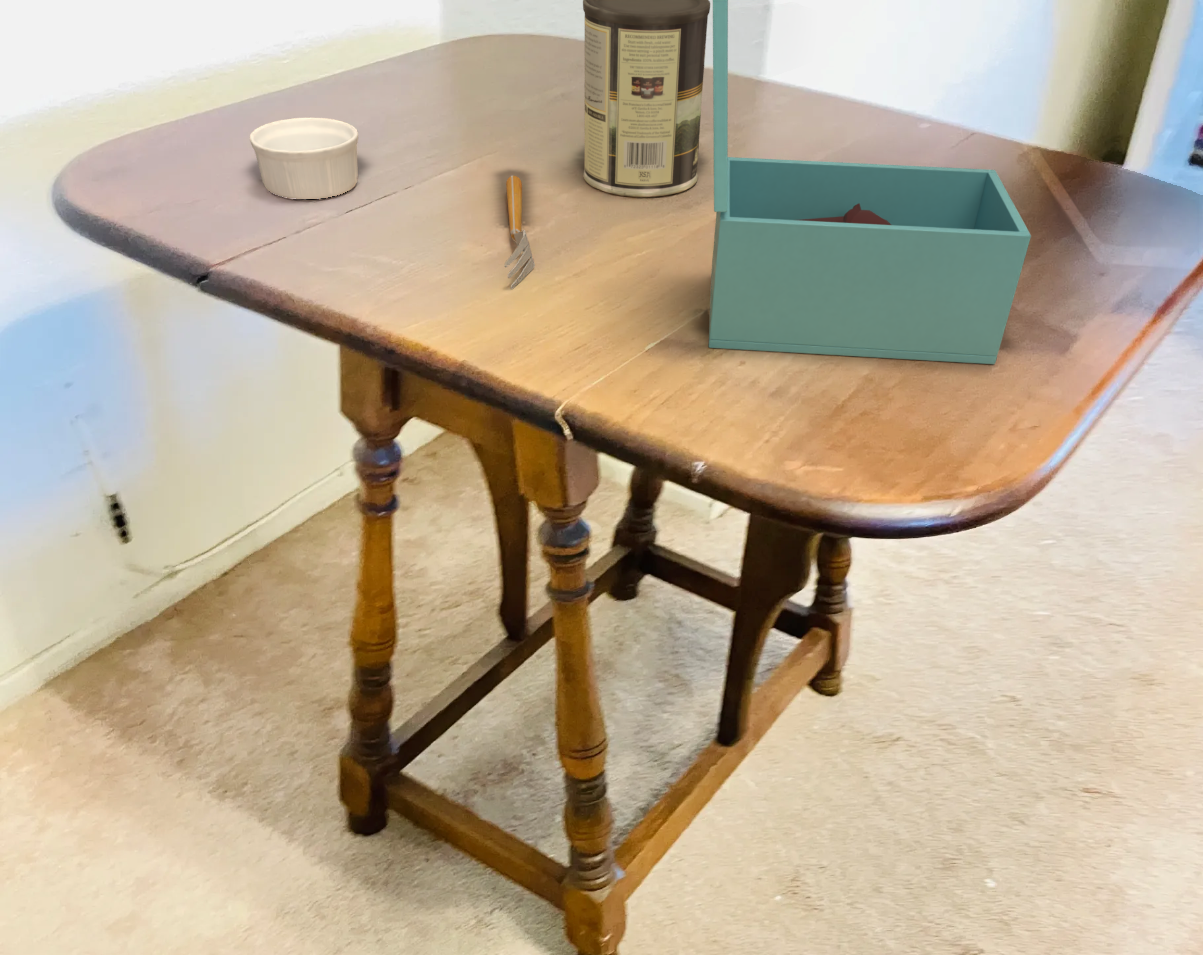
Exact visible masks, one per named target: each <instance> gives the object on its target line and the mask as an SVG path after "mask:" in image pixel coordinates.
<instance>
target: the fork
mask: <svg viewBox="0 0 1203 955" xmlns="http://www.w3.org/2000/svg"><path fill="white" fill-rule="evenodd" d="M505 185H506V186H505V189H506V196H507V197H506V200H507V210H508V221H509V232H510V238H511V240H513V241H514V242H515V244H516V248H515V250H514V251H513V253H512V254H511V255H510V256H509V257H508V259H507V260H506V261H505V262H504V265H503V267H504V268H508V267H509V266H510V265H511V264H512V263H513V262H515V260H517V258H519V256H520V255H521V256H520V258H519V259H518V260H517V262H516V264H515V265H514V266H513V268H511V270H510V271H509V272H508V273H507V278H508V279H511V278H512V277H513V276H514V275H515V274H517V272H518V271H520V269H522V267H523V266H524V267H523V269H522V270H521V272H520V274H519V275H518V277H517V278H515V280H514V281H513V283H511V284H510V289H511V290H513V289H514V288H516V286H518V285H519V284H520V283H521V282H522V281H523V280H524V279H525V278H526V277H527V276H528V275H529V273H531V272H532V271H533V269H534V268H535V265H536V264H535V261H534V256H533V253H532V249H531V245H530V242H529V238H528V235H527V232H526V229H523V230H522V222H523V220H522V217H523V216H522V215H523V214H522V212H523V182H522V180H521V179H520V177H518V176H517V175H511V176H509V177H508V178H507V180H506V182H505ZM521 253H522V254H521Z"/></svg>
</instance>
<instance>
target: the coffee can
mask: <svg viewBox="0 0 1203 955" xmlns="http://www.w3.org/2000/svg"><path fill="white" fill-rule="evenodd" d="M582 7H583V8H582V9H583V10H582V11H583V13H584V99H583V100H584V126H583V128H584V132H583V134H584V139H583V140H584V144H583V146H584V148H583V149H584V160H583V161H584V165H583V168H584V170H583V174H582V175H583V180H584V181H585V182H586V183H587V184H588V185H589V186H591V187H592V188H594V189H596V190H599V191H602V192H604V193H608V194H611V195H616V196H622V197H634V198H635V197H636V198H651V197H652V198H653V197H662V196H665V197H666V196H670V195H671V196H672V195H676V194H678V193H682V192H685V191H687V190H689V189H691V188H692V187H693V186H694V185H696V183H697V182H698V177H699V176H698V163H699V148H700V134H701V133H700V132H701V116H702V105H703V104H702V102H703V86H704V74H705V60H706V50H707V49H706V48H707V32H708V21H709V20H708V19H709V18H708V17H709V14H710V11H711V1H710V0H582Z"/></svg>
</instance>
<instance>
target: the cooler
mask: <svg viewBox="0 0 1203 955" xmlns="http://www.w3.org/2000/svg"><path fill="white" fill-rule="evenodd" d="M859 203H860V207H861V210H870V211H872V212H873V213H875V214H876V215H878V216H880V217H881V218H883V219H885V220H887V221H888V222H889V223H890V224H891V225H877V224H858V223H838V222H819V221H799V220H800V219H814V218H828V217H842V216H844V215H845V213H846V212H848V211H849V210H850V209H853V206H855V205H857V204H859ZM714 225H715V226H714V235H713V236H714V237H713V247H712V260H711V271H710V291H709V292H710V296H709V320H708V321H709V324H708V348H709V349H724V350H741V351H755V352H756V351H757V352H758V351H759V352H776V353H790V354H791V353H792V354H793V353H794V354H809V355H826V356H827V355H828V356H845V357H861V358H878V359H895V360H912V361H913V360H916V361H929V362H945V363H964V364H979V365H996V362H997V359H998V355H999V351H1000V348H1001V345H1002V341H1003V337H1004V333H1005V331H1006V327H1007V323H1008V319H1009V317H1010V312H1011V310H1012V305H1013V302H1014V299H1015V295H1016V291H1017V287H1018V284H1019V280H1020V277H1021V273H1022V270H1023V267H1024V264H1025V263H1024V262H1025V260H1026V256H1027V253H1028V248H1029V245H1030V242H1031V239H1032V235H1031V233H1030V231H1029V229H1028V228H1027V225H1026V224H1025V222H1024V220H1023V218H1022V216H1021V215H1020V213H1019V211H1018V209H1017V207H1016V206H1015V203H1014V202H1013V200H1012V198H1011V196H1010V194H1009V193H1008V191H1007V189H1006V187H1005V184H1003V182H1002V180H1001V178H1000V176H999V174H998V172H997V171H996V169H990V168H989V169H986V168H969V167H968V168H966V167H963V168H962V167H947V166H945V167H943V166H924V165H920V166H919V165H906V164H905V165H904V164H880V163H863V162H862V163H860V162H839V161H823V160H821V161H819V160H800V159H798V160H797V159H781V158H780V159H778V158H759V157H757V158H756V157H736V156H735V157H734V156H728V174H727V211H726V212H715V224H714Z"/></svg>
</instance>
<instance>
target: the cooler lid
mask: <svg viewBox="0 0 1203 955" xmlns="http://www.w3.org/2000/svg"><path fill="white" fill-rule="evenodd" d="M728 80H729V0H712V103H713V105H712V108H713V110H712V112H713V114H712V115H713V117H712V120H713V121H712V122H713V129H712V130H713V211H714V213H716V212H726V211H727V174H728V157H729V153H728V150H729V138H728V137H729V134H728V133H729V130H728V129H729V108H728V107H729V81H728Z"/></svg>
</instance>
